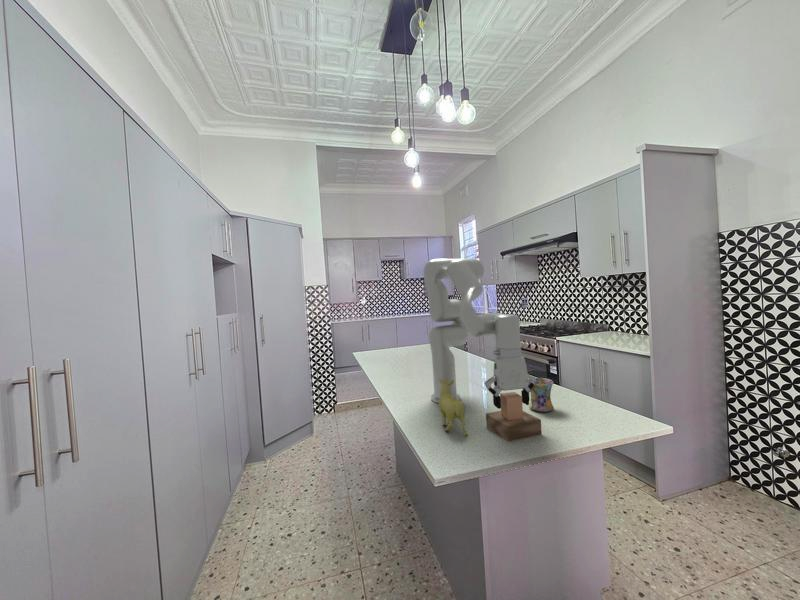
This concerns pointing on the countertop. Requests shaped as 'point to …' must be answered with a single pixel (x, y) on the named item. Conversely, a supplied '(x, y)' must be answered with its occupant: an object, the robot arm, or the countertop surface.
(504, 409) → the terracotta block
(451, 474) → the countertop surface
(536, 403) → the mug
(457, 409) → the toy
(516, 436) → the walnut box
